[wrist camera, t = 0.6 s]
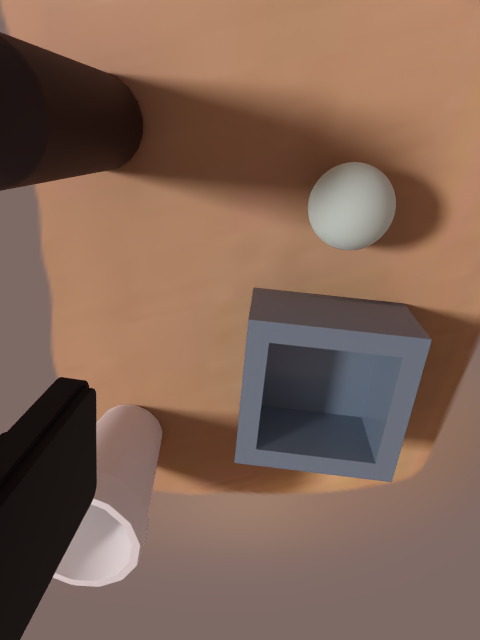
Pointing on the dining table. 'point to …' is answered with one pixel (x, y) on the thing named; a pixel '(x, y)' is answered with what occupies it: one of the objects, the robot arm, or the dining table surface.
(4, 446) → the robot arm
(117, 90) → the bottle
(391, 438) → the blue-grey open box
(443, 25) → the dining table surface
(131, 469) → the foam cup
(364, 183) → the ball
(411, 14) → the dining table surface
